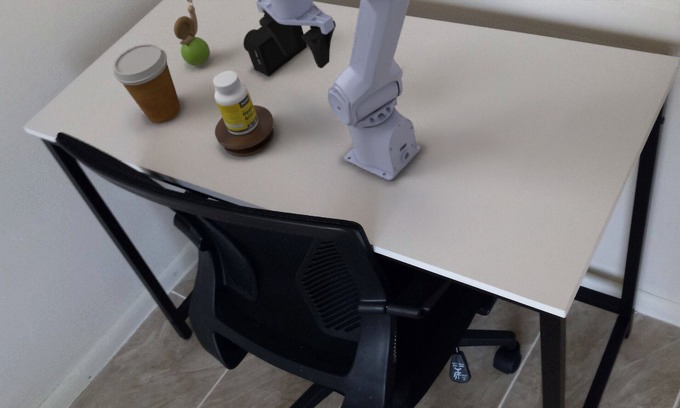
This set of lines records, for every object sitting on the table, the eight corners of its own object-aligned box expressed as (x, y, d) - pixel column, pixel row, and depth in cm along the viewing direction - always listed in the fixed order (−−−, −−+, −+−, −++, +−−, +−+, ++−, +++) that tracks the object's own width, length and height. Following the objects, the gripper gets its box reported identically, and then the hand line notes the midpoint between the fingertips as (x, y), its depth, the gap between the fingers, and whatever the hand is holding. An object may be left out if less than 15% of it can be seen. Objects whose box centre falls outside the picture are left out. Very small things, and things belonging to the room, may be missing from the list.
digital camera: (288, 38, 132) (279, 7, 127) (307, 46, 129) (299, 15, 124) (250, 68, 128) (238, 37, 123) (268, 77, 125) (258, 46, 120)
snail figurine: (222, 53, 133) (200, 0, 124) (201, 73, 130) (178, 20, 121) (201, 49, 135) (179, -4, 127) (181, 68, 132) (157, 16, 124)
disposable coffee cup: (199, 105, 123) (174, 51, 115) (159, 136, 120) (130, 83, 111) (168, 88, 129) (143, 36, 120) (129, 118, 125) (100, 66, 116)
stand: (289, 129, 114) (284, 116, 112) (248, 167, 110) (242, 154, 108) (249, 111, 119) (244, 98, 117) (208, 146, 115) (202, 133, 113)
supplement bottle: (254, 135, 110) (235, 89, 103) (223, 136, 111) (203, 90, 104) (262, 113, 113) (245, 66, 106) (233, 114, 115) (214, 68, 108)
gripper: (339, -22, 96) (356, 55, 106) (269, -41, 104) (291, 33, 114) (307, 5, 93) (327, 81, 103) (237, -17, 101) (262, 56, 111)
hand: (306, 57), depth 109 cm, fingers open, 7 cm apart
